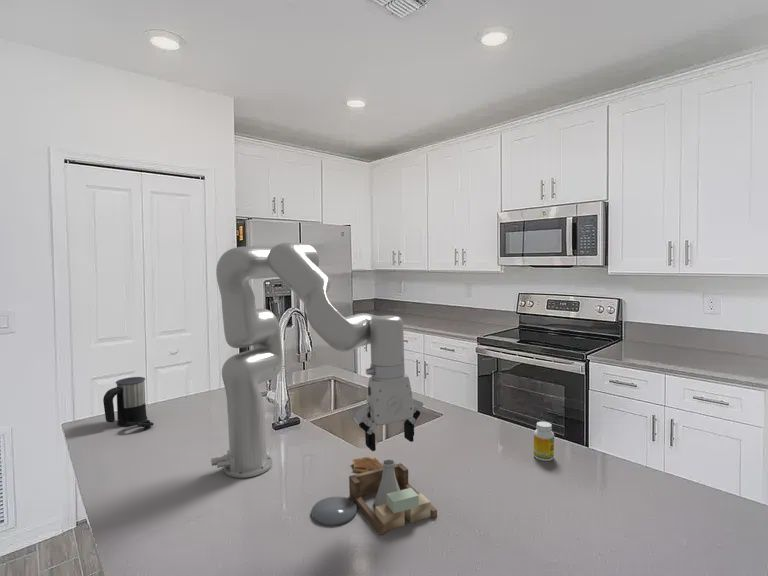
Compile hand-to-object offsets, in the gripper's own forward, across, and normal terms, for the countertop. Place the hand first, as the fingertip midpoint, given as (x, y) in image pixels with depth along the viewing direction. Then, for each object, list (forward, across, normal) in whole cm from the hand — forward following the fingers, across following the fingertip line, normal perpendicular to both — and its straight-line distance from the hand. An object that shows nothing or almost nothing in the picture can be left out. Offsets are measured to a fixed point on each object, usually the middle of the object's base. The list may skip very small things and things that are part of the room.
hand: (390, 444), depth 103 cm
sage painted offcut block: (+11, -1, -7) cm, 13 cm away
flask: (+14, 0, +1) cm, 15 cm away
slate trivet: (+14, -13, +3) cm, 19 cm away
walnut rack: (+14, -1, -1) cm, 14 cm away
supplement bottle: (+15, +48, +1) cm, 51 cm away
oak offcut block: (+14, -4, -6) cm, 16 cm away
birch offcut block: (+15, +3, -6) cm, 16 cm away
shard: (+15, +4, +18) cm, 24 cm away
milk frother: (+12, -56, +84) cm, 101 cm away
